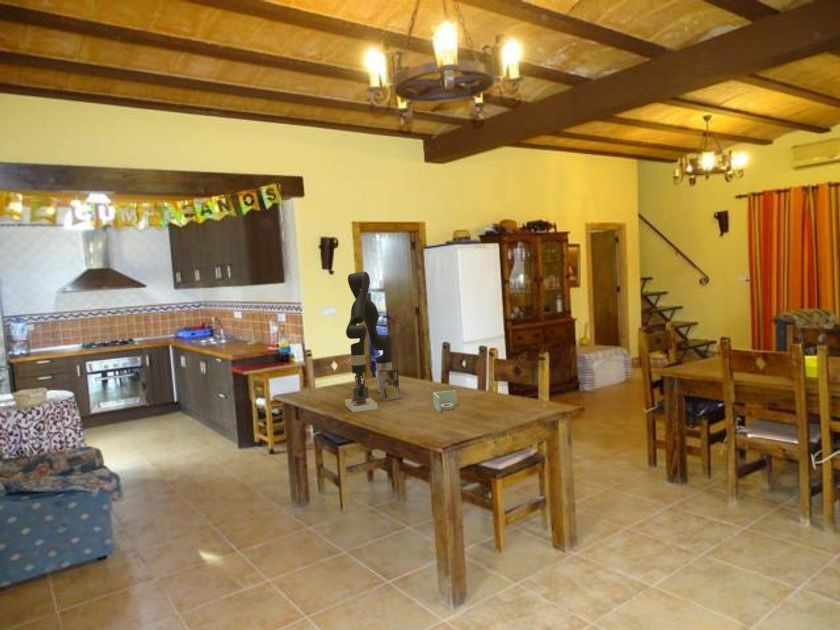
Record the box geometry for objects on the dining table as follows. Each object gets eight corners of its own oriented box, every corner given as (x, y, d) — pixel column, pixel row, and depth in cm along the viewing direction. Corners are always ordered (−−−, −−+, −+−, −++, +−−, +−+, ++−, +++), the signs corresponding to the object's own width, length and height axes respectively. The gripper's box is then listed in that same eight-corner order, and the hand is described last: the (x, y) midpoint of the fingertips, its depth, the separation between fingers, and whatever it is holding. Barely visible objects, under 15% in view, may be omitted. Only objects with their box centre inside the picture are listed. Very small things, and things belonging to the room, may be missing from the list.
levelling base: (368, 402, 324) (368, 392, 324) (377, 409, 307) (376, 398, 307) (345, 405, 320) (344, 395, 320) (352, 412, 303) (352, 401, 303)
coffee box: (396, 396, 334) (394, 368, 333) (400, 398, 328) (398, 369, 327) (380, 398, 331) (378, 370, 329) (384, 401, 325) (382, 371, 323)
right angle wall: (439, 412, 294) (438, 397, 293) (433, 407, 306) (432, 392, 305) (462, 410, 296) (461, 395, 296) (456, 404, 308) (455, 390, 307)
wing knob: (367, 399, 316) (366, 384, 315) (369, 401, 311) (368, 386, 311) (352, 401, 314) (351, 386, 313) (354, 403, 309) (353, 388, 308)
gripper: (368, 364, 305) (371, 397, 307) (362, 360, 319) (364, 392, 320) (354, 366, 303) (356, 399, 305) (348, 362, 316) (350, 394, 318)
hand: (360, 396), depth 312 cm, fingers closed on wing knob, 2 cm apart
